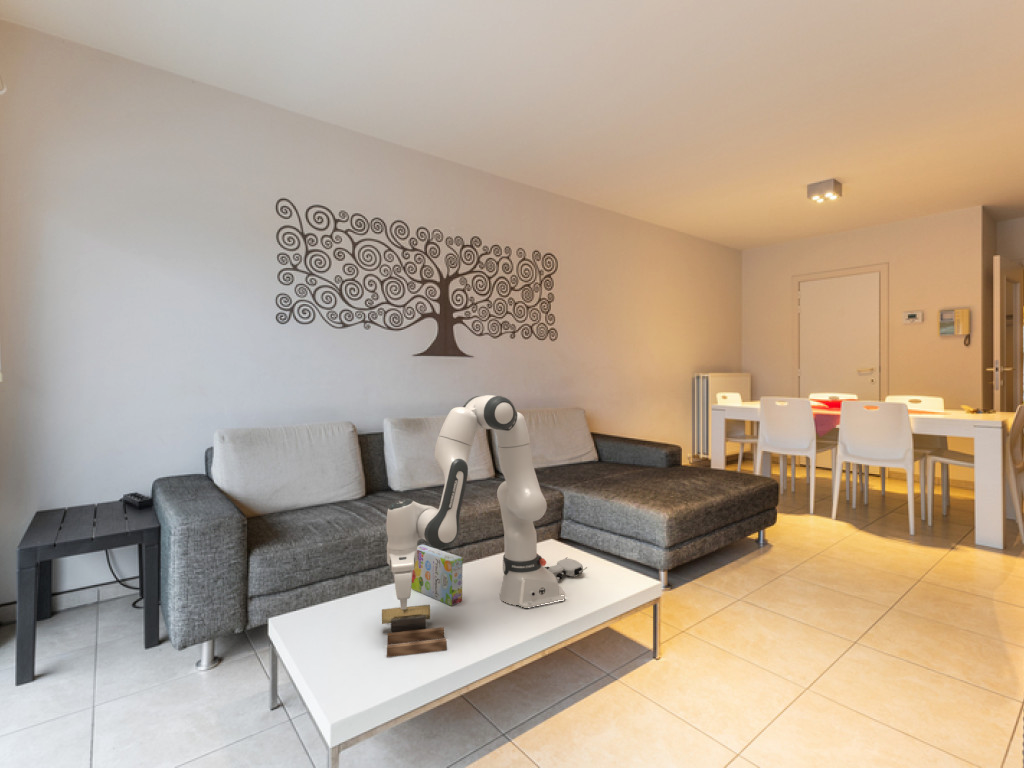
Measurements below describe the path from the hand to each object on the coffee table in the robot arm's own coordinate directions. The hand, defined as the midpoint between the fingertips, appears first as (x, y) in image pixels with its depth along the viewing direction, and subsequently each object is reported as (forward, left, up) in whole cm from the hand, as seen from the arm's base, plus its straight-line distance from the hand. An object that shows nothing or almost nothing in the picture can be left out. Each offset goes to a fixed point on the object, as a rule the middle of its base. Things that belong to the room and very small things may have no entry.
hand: (403, 601), depth 151 cm
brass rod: (-1, 0, -6) cm, 6 cm away
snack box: (-11, -22, -9) cm, 26 cm away
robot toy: (-60, -28, -9) cm, 67 cm away
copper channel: (-3, +10, -9) cm, 14 cm away
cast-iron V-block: (-1, 0, -9) cm, 9 cm away
